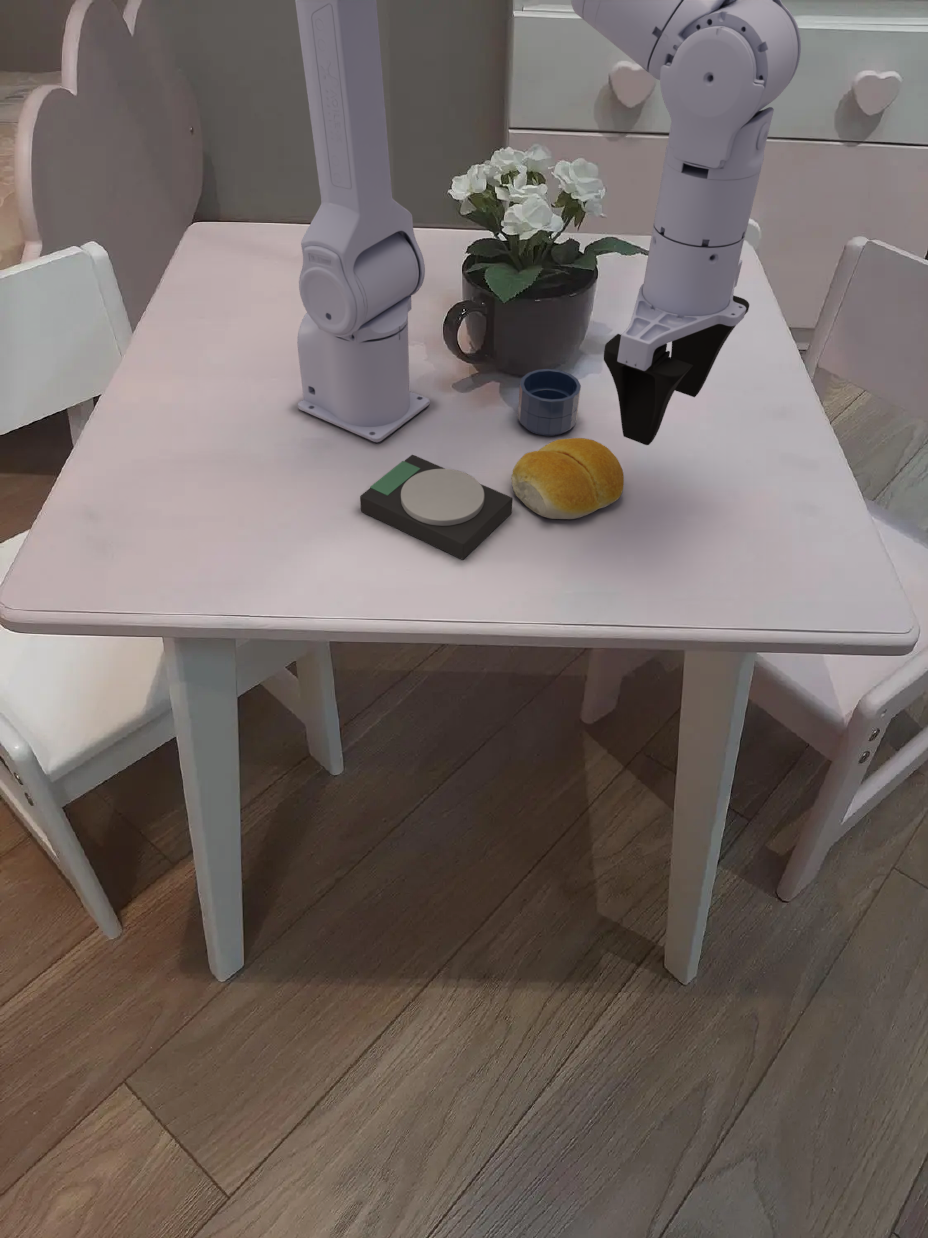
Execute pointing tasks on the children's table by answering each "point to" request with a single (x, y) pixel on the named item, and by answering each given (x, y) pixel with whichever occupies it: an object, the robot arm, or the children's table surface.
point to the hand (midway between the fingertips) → (661, 414)
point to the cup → (548, 401)
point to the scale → (437, 505)
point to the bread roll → (568, 478)
